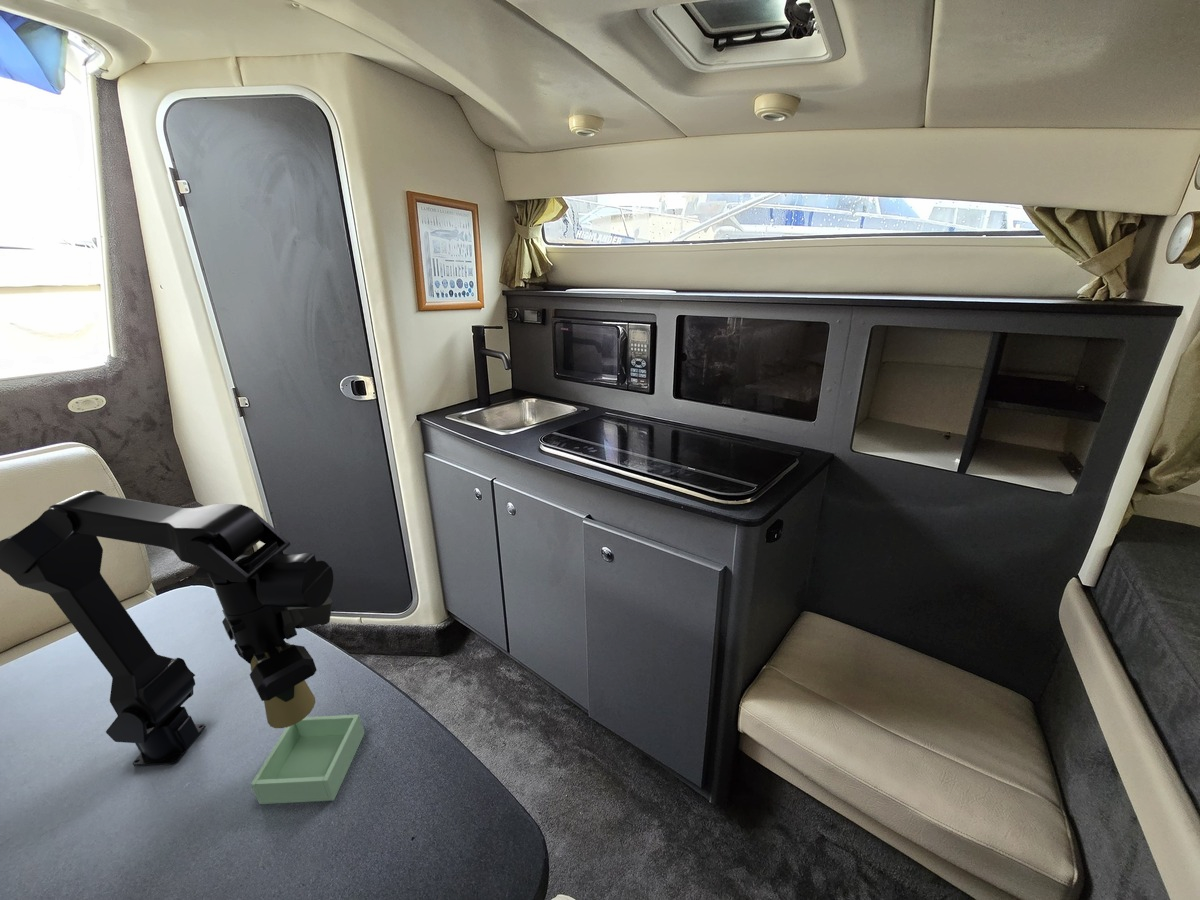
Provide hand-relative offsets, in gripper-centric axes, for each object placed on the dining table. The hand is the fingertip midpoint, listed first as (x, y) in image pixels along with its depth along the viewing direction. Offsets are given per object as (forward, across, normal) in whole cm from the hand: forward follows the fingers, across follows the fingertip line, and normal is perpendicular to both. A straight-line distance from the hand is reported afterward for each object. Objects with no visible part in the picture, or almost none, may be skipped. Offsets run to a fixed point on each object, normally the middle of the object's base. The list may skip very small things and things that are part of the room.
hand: (284, 690), depth 69 cm
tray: (+13, -3, 0) cm, 13 cm away
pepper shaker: (+4, 0, 0) cm, 4 cm away
